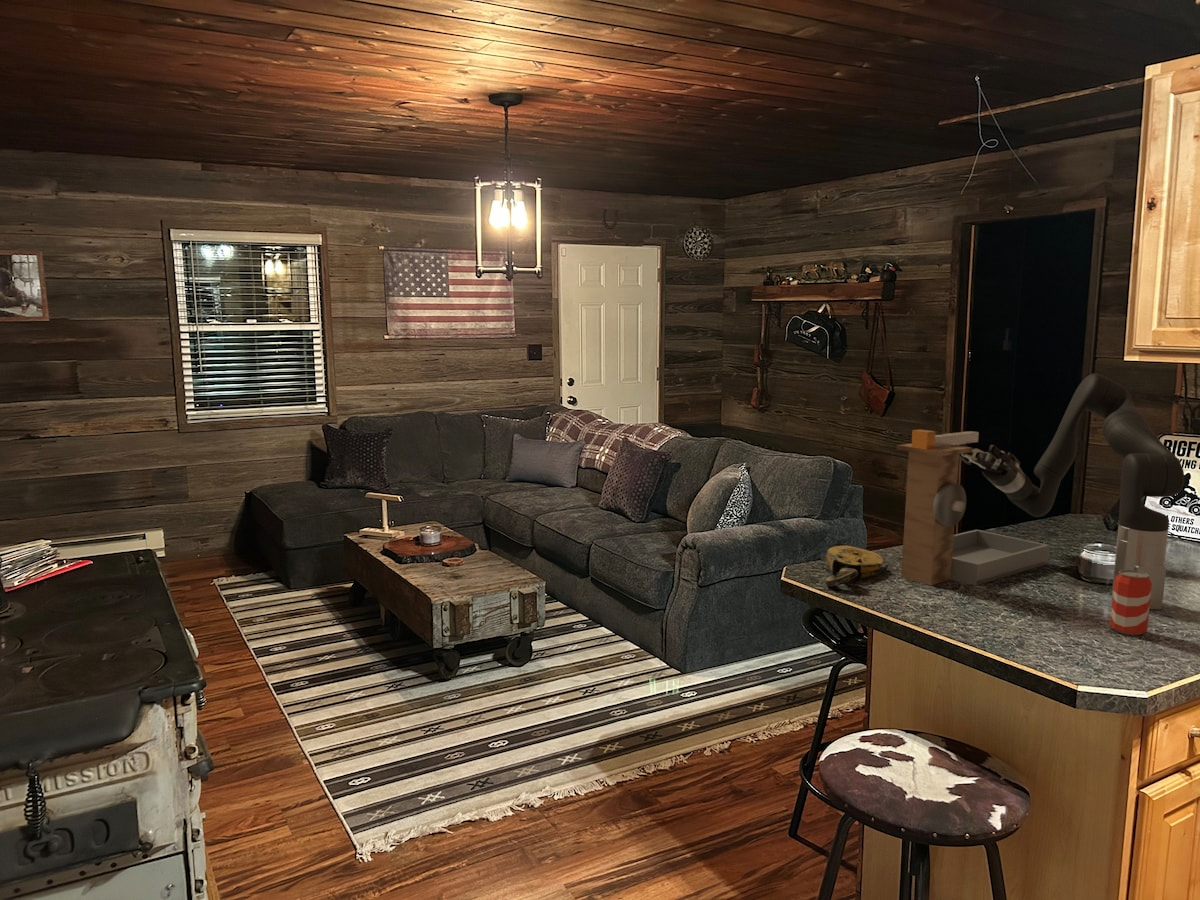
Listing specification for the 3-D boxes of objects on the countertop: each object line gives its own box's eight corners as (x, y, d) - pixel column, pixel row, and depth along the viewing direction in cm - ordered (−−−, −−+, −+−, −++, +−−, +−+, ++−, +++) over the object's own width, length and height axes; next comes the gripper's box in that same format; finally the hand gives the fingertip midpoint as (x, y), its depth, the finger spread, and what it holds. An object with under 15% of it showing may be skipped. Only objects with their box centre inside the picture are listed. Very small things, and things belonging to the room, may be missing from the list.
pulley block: (807, 560, 202) (836, 533, 229) (802, 584, 204) (831, 554, 230) (869, 578, 196) (891, 548, 223) (864, 602, 198) (886, 570, 224)
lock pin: (966, 440, 217) (967, 424, 216) (981, 442, 214) (982, 426, 213) (911, 447, 204) (912, 430, 204) (926, 449, 201) (927, 432, 201)
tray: (975, 547, 240) (976, 529, 240) (1047, 564, 224) (1049, 545, 223) (902, 565, 222) (904, 546, 221) (976, 585, 206) (977, 564, 205)
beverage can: (1106, 631, 176) (1112, 573, 174) (1115, 623, 181) (1121, 567, 179) (1140, 639, 172) (1147, 579, 170) (1149, 631, 176) (1155, 573, 175)
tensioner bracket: (919, 568, 219) (927, 441, 215) (970, 582, 208) (980, 448, 203) (888, 576, 212) (896, 445, 208) (940, 591, 201) (950, 453, 196)
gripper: (983, 456, 232) (953, 429, 222) (1035, 464, 220) (1007, 435, 211) (973, 482, 230) (943, 455, 221) (1025, 491, 219) (996, 463, 210)
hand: (974, 446), depth 216 cm, fingers open, 8 cm apart
